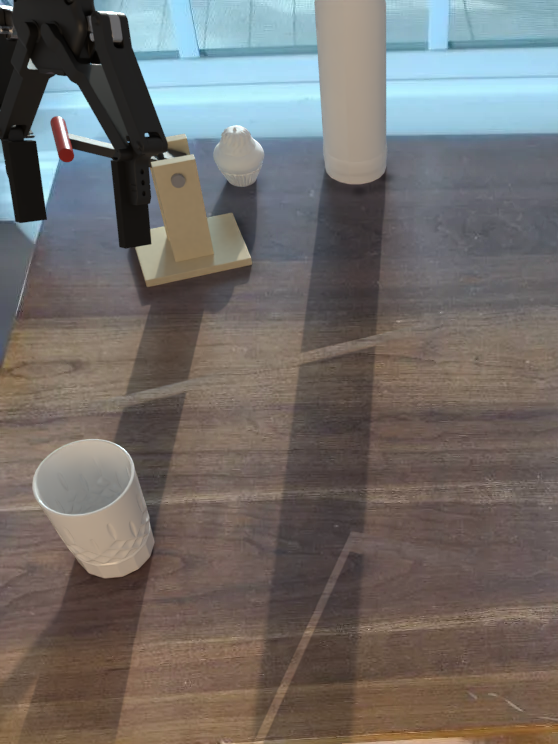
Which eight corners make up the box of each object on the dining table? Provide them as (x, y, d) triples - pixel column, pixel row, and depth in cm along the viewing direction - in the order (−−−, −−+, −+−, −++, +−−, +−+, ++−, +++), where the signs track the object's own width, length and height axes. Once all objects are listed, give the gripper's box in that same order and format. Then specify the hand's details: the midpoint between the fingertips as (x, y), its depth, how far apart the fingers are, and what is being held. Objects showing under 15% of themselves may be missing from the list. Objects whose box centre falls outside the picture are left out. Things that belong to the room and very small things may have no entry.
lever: (56, 165, 83) (60, 142, 82) (48, 132, 86) (52, 109, 85) (188, 195, 90) (194, 174, 89) (176, 164, 94) (182, 143, 92)
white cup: (53, 570, 75) (11, 500, 67) (99, 501, 79) (66, 428, 71) (134, 595, 74) (102, 528, 65) (177, 524, 78) (152, 453, 70)
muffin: (258, 199, 106) (250, 145, 100) (210, 191, 106) (200, 137, 101) (274, 170, 109) (267, 116, 103) (228, 163, 110) (219, 109, 104)
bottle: (387, 151, 112) (387, -127, 87) (387, 187, 107) (387, -96, 83) (325, 150, 112) (307, -129, 87) (323, 186, 107) (303, -97, 82)
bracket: (147, 289, 96) (117, 185, 85) (133, 241, 101) (103, 137, 90) (252, 266, 98) (236, 162, 88) (233, 220, 103) (216, 117, 93)
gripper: (204, -62, 60) (218, 251, 71) (-12, -62, 72) (28, 207, 82) (118, -77, 55) (147, 264, 65) (-101, -75, 66) (-46, 215, 77)
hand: (81, 233), depth 74 cm, fingers open, 13 cm apart
